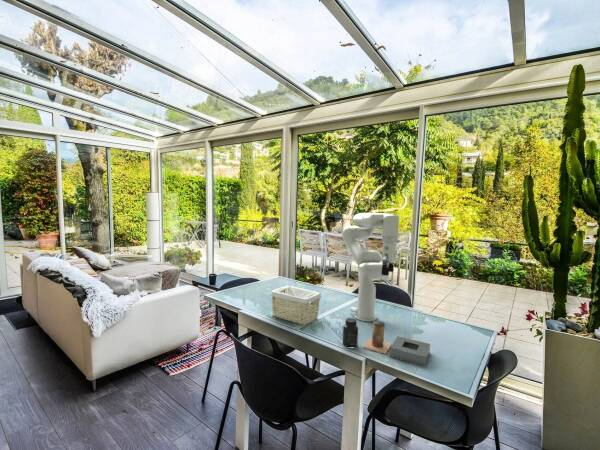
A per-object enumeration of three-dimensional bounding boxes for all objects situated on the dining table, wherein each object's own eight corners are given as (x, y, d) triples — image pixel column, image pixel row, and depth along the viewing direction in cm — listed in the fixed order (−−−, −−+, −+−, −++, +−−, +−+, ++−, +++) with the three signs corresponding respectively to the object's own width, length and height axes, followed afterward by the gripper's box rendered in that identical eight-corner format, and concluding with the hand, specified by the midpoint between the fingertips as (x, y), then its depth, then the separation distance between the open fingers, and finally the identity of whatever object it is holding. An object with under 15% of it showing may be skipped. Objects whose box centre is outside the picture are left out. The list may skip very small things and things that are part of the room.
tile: (363, 348, 138) (363, 346, 138) (370, 340, 147) (370, 338, 147) (385, 354, 133) (385, 352, 133) (391, 345, 142) (391, 343, 142)
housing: (389, 356, 132) (390, 347, 131) (397, 344, 144) (397, 335, 143) (424, 366, 125) (425, 357, 124) (429, 352, 137) (430, 344, 136)
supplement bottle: (340, 342, 144) (342, 316, 143) (355, 342, 144) (356, 317, 143) (344, 349, 137) (345, 322, 136) (359, 349, 137) (360, 322, 136)
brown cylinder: (370, 345, 140) (371, 323, 139) (374, 341, 144) (375, 320, 143) (381, 348, 137) (382, 326, 136) (384, 344, 141) (386, 322, 141)
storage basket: (269, 316, 172) (270, 290, 171) (286, 308, 186) (287, 284, 185) (304, 327, 159) (305, 299, 158) (320, 318, 172) (322, 292, 171)
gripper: (393, 241, 144) (390, 277, 145) (401, 238, 159) (398, 271, 160) (377, 240, 148) (375, 275, 149) (386, 237, 163) (384, 269, 164)
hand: (387, 273), depth 155 cm, fingers open, 9 cm apart
